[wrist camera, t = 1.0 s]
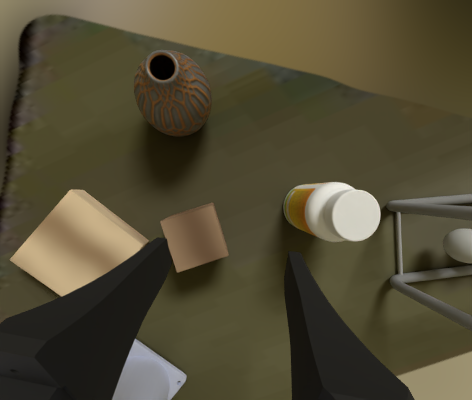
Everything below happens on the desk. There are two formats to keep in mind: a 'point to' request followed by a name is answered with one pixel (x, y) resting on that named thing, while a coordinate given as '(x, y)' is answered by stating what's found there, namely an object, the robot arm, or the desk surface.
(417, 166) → the desk surface
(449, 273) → the newton's cradle
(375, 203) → the supplement bottle
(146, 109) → the vase
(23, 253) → the oak block
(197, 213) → the walnut cube
